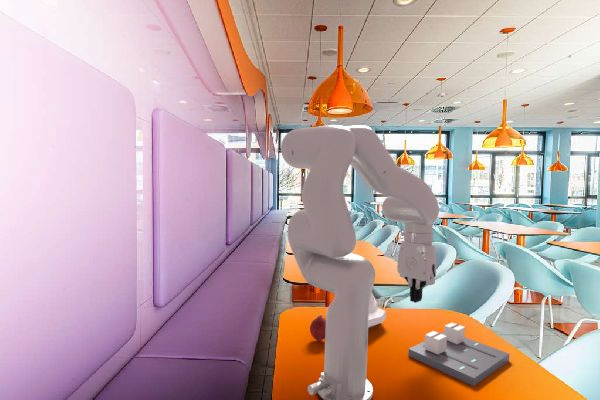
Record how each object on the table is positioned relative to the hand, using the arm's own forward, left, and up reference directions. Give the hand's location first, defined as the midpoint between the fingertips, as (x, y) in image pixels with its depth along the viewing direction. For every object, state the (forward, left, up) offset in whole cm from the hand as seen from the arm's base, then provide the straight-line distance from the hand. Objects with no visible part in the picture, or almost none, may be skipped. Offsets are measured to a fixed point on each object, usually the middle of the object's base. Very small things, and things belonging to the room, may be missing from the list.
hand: (415, 300), depth 104 cm
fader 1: (-1, -7, -11) cm, 13 cm away
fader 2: (+9, -7, -11) cm, 16 cm away
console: (+4, -11, -14) cm, 18 cm away
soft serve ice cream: (-1, +18, -14) cm, 23 cm away
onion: (-20, +19, -14) cm, 31 cm away
